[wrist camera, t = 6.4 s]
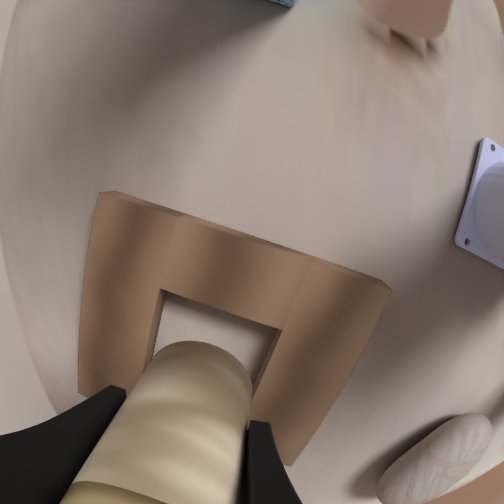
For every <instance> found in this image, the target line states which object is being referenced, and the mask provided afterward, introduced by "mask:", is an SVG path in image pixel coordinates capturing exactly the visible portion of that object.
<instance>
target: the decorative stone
mask: <svg viewBox="0 0 504 504" xmlns="http://www.w3.org/2000/svg"><path fill="white" fill-rule="evenodd" d="M491 435H492V427H491V423H490V421H489V420H488V418H487V417H485V416H484V415H482V414H479V413H466V414H462V415H459V416H457V417H455V418H453V419H451V420H449V421H447V422H446V423H444V424H442V425H441V426H440V427H438V428H437V429H435V430H434V431H433V432H431V433H430V434H429V435H427V436H426V437H425V438H424V439H422V440H421V441H420V442H419V443H417V444H416V445H415V446H413V447H412V448H411V449H410V450H408V451H407V452H406V453H404V454H403V455H402V456H401V457H400V458H398V459H397V460H396V461H395V462H394V463H393V464H392V465H391V466H390V467H389V468H388V469H387V470H386V471H385V472H384V474H383V475H382V476H381V478H380V480H379V482H378V485H377V490H376V493H377V497H378V499H379V500H380V502H381V503H383V504H421V503H424V502H426V501H429V500H431V499H433V498H434V497H436V496H438V495H440V494H441V493H443V492H445V491H446V490H448V489H449V488H450V487H452V486H453V485H454V484H456V483H457V482H458V481H459V480H461V479H462V478H463V477H464V476H465V475H466V474H467V473H468V472H469V471H470V470H471V469H472V468H473V467H474V466H475V465H476V464H477V463H478V462H479V460H480V459H481V458H482V456H483V455H484V453H485V451H486V450H487V448H488V445H489V443H490V440H491Z"/></svg>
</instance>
